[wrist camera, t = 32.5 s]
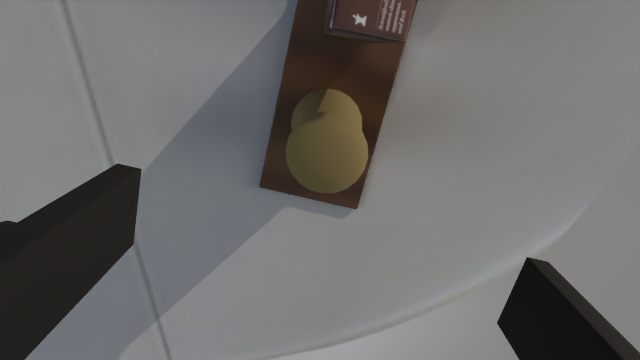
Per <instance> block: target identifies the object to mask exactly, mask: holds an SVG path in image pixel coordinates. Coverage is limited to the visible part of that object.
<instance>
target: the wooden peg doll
mask: <svg viewBox="0 0 640 360" xmlns="http://www.w3.org/2000/svg"><path fill="white" fill-rule="evenodd" d="M291 127H292V132H291V134H290V136H289V138H288V142H287V147H286V159H287V164H288V166H289V169H290V171H291V173H292V175H293V176H294V177H295V178H296V180H297V181H298V182H299V183H300V184H301V185H302V186H304V187H306V188H308V189H310V190H311V191H314V192H319V193H323V194H325V193H337V192H339V191H342V190H344V189H347V188H348V187H350V186H351V185H352V184H353V183H355V182H356V181H357V180H358V178H359V177H360V175H361V174H362V172H363V171H364V169H365V166H366V163H367V159H368V144H367V142H366V139H365V137H364V134H363V132H362V116H361V113H360V111H359V108H358V106H357V105H356V103H355V102H354V101H353V100H352V99H351V97H349V96H348V95H346V94H344V93H343V92H341V91H338V90H334V89H318V90H316V91H313V92H311V93H309V94H307V95H306V96H305V97H304V98H302V99H301V100H300V101H299V102H298V104H297V106H296V108H295V109H294V111H293V115H292V120H291Z"/></svg>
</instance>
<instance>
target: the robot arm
mask: <svg viewBox="0 0 640 360" xmlns="http://www.w3.org/2000/svg"><path fill="white" fill-rule="evenodd" d="M140 177H141V169H139V168H134V167H130V166H126V165H121V164H116V165H114V166H112V167H111V168H109V169H107V170H106V171H104V172H102V173H101V174H99V175H97V176H95V177H94V178H92V179H90V180H89V181H87V182H85V183H84V184H82V185H80V186H79V187H77V188H75V189H73V190H72V191H70V192H68V193H67V194H65V195H63V196H62V197H60V198H58V199H56V200H55V201H53V202H51V203H50V204H48V205H46V206H45V207H43V208H41V209H40V210H38V211H36V212H34V213H33V214H31V215H29V216H28V217H26V218H24V219H23V220H21V221H19V222H18V223H16V222H12V221H4V222H0V360H24V359H25V358H26V357H27V356H28V355H29V354H30V353H31V352H32V351H33V350H34V349H35V348H36V347H37V346H38V345H39V344H40V342H41V341H42V340H43V339H44V338H45V337H46V336H47V335H48V334H49V333H50V332H51V331H52V330H53V329H54V328H55V327H56V326H57V324H58V323H59V322H60V321H61V320H62V319H63V318H64V317H65V316H66V315H67V314H68V313H69V312H70V311H71V310H72V309H73V308H74V306H75V305H76V304H77V303H78V302H79V301H80V300H81V299H82V298H83V297H84V296H85V295H86V294H87V293H88V292H89V291H90V290H91V288H92V287H93V286H94V285H95V284H96V283H97V282H98V281H99V280H100V279H101V278H102V277H103V276H104V275H105V274H106V273H107V272H108V270H109V269H110V268H111V267H112V266H113V265H114V264H115V263H116V262H117V261H118V260H119V259H120V258H121V257H122V256H123V255H124V253H125V252H126V251H127V250H128V249H129V248H130V247H131V246H132V245H133V242H134V233H135V223H136V214H137V205H138V196H139V186H140ZM497 324H498V325H499V327H500V329H501V330H502V332H503V333H504V335H505V337H506V338H507V340H508V342H509V343H510V345H511V346H512V348H513V350H514V351H515V353H516V355H517V356H518V358H519V360H640V353H639V352H638V351H637V350H636V349H635V348H634V347H633V346H632V345H631V344H630V343H629V342H628V341H627V340H626V339H625V338H624V337H623V336H622V335H621V334H620V333H619V332H618V331H617V330H616V329H615V328H614V327H613V326H612V325H611V324H610V323H609V322H608V321H607V320H606V319H605V318H604V317H603V316H602V315H601V314H600V313H599V312H598V311H597V310H596V309H595V308H594V307H593V306H592V305H591V304H590V303H589V302H588V301H587V300H586V299H585V298H584V297H583V296H582V295H581V294H580V293H579V292H578V291H577V290H576V289H575V288H574V287H573V286H572V285H571V284H570V283H569V282H568V281H567V280H566V279H565V278H564V277H563V276H562V275H561V274H560V273H559V272H558V271H557V270H556V269H555V268H554V267H553V266H552V265H551V264H550V263H549V262H546V261H542V260H537V259H533V258H528V257H527V258H526V260H525V263H524V265H523V267H522V270H521V271H520V274H519V276H518V278H517V280H516V282H515V285H514V287H513V289H512V291H511V294H510V296H509V298H508V300H507V302H506V304H505V307H504V309H503V311H502V313H501V316H500V318H499V320H498V322H497Z"/></svg>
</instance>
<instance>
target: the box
mask: <svg viewBox="0 0 640 360" xmlns="http://www.w3.org/2000/svg"><path fill="white" fill-rule="evenodd" d="M415 2H416V0H328V5H327V11H326V17H325V23H324V29H323V30H324V33H328V34H332V35H338V36H343V37H347V38H353V39H358V40H363V41H367V42H371V43H380V42H382V43H385V42H403V41H405V40H406V37H407V33H408V29H409V25H410V21H411V17H412V14H413V10H414V6H415Z"/></svg>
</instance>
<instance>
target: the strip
mask: <svg viewBox="0 0 640 360" xmlns="http://www.w3.org/2000/svg"><path fill="white" fill-rule="evenodd" d="M417 2H418V0H416V2H415V6H414V10H413V14H412V17H411V21H410V25H409V29H410V26H411V22H412V19H413V15H414V12H415V9H416V5H417ZM327 5H328V0H298V3H297V7H296V12H295V17H294V22H293V27H292V32H291V36H290V41H289V46H288V51H287V56H286V61H285V65H284V70H283V75H282V80H281V85H280V90H279V94H278V99H277V104H276V109H275V114H274V119H273V123H272V128H271V133H270V138H269V143H268V148H267V152H266V157H265V162H264V167H263V172H262V177H261V181H260V186H259V187H262V188H266V189H270V190H275V191H279V192H283V193H288V194H292V195H296V196H301V197H305V198H310V199H314V200H318V201H323V202H327V203H331V204H336V205H340V206H344V207H349V208H353V209H357V207H358V203H359V200H360V196H361V193H362V189H363V186H364V183H365V179H366V176H367V172H368V169H369V166H370V162H371V159H372V155H373V152H374V148H375V145H376V142H377V138H378V135H379V131H380V128H381V125H382V121H383V118H384V114H385V111H386V108H387V104H388V101H389V97H390V94H391V90H392V87H393V84H394V80H395V77H396V73H397V70H398V67H399V63H400V60H401V56H402V53H403V49H404V46H405V43H406V40H405V41H403V42H385V43H382V42H380V43H371V42H367V41H363V40H358V39H353V38H347V37H343V36H338V35H332V34H328V33H324V30H323V29H324V23H325V17H326V11H327ZM409 29H408V32H409ZM407 36H408V33H407ZM406 39H407V37H406ZM318 89H334V90H338V91H341V92H343V93H344V94H346V95H348V96H349V97H351V99H352V100H353V101H354V102H355V103H356V105H357V106H358V108H359V111H360V113H361V116H362V132H363V134H364V137H365V139H366V142H367V144H368V159H367V163H366V166H365V169H364V171H363V172H362V174H361V175H360V177H359V178H358V180H357V181H356V182H355V183H353V184H352V185H351V186H350V187H348V188H347V189H344V190H342V191H339V192H337V193H325V194H323V193H319V192H314V191H311V190H310V189H308V188H306V187H304V186H302V185H301V184H300V183H299V182H298V181H297V180H296V178H295V177H294V176H293V175H292V173H291V171H290V169H289V166H288V164H287V159H286V147H287V142H288V138H289V136H290V134H291V132H292V127H291V120H292V115H293V111H294V109H295V108H296V106H297V104H298V102H299V101H300V100H301V99H302V98H304V97H305V96H306V95H307V94H309V93H311V92H313V91H316V90H318Z"/></svg>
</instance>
